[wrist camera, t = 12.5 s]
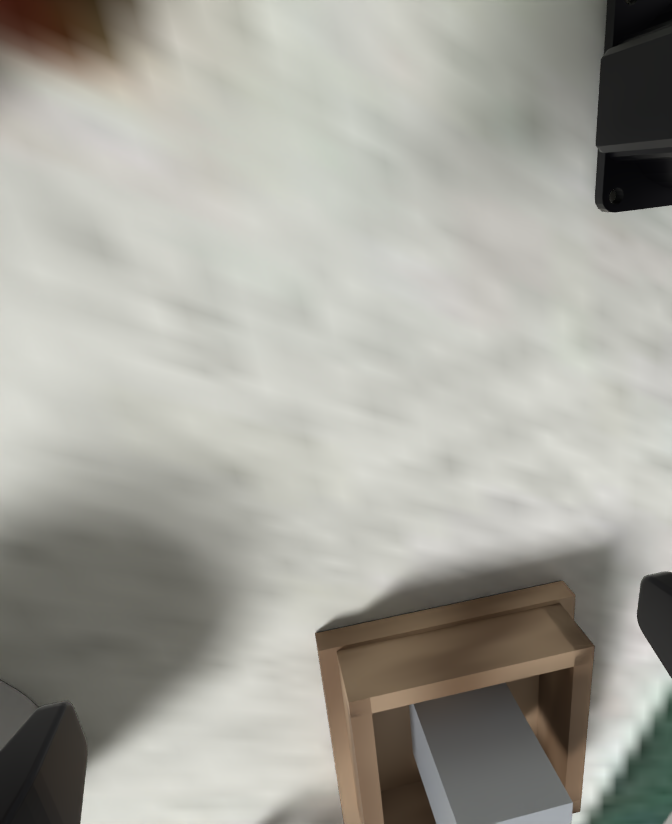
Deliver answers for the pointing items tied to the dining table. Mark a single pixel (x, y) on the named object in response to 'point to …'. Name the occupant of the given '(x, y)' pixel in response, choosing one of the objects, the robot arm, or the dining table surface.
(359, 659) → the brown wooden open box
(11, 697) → the coffee mug
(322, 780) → the dining table surface
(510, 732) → the block
